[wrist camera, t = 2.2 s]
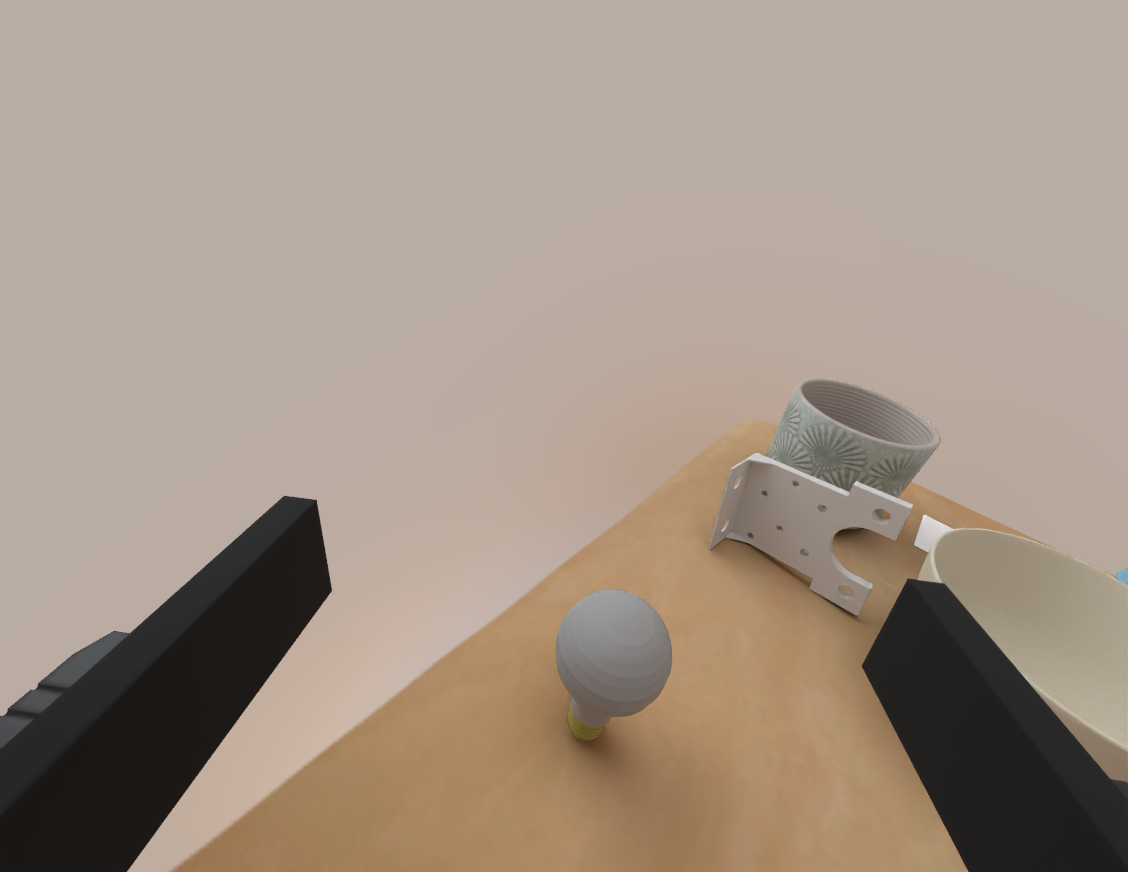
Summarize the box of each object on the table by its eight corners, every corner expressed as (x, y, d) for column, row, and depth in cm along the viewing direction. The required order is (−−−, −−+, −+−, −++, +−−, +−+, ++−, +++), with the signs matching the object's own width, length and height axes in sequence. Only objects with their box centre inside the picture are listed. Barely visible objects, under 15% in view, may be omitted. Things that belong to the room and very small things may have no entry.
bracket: (705, 558, 42) (733, 456, 37) (730, 538, 44) (759, 441, 40) (840, 641, 35) (896, 529, 30) (860, 611, 38) (913, 504, 33)
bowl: (830, 593, 39) (897, 499, 34) (1045, 664, 37) (1153, 576, 32) (884, 816, 26) (1009, 719, 21) (1226, 951, 24) (1467, 881, 18)
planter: (885, 563, 44) (960, 467, 38) (748, 511, 46) (798, 414, 41) (866, 489, 54) (923, 404, 48) (754, 450, 57) (795, 365, 51)
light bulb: (518, 753, 25) (548, 636, 20) (555, 664, 30) (588, 550, 24) (616, 803, 24) (677, 694, 19) (640, 704, 29) (694, 593, 23)
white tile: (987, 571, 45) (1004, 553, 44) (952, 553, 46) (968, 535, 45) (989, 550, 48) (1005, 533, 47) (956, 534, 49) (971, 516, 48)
